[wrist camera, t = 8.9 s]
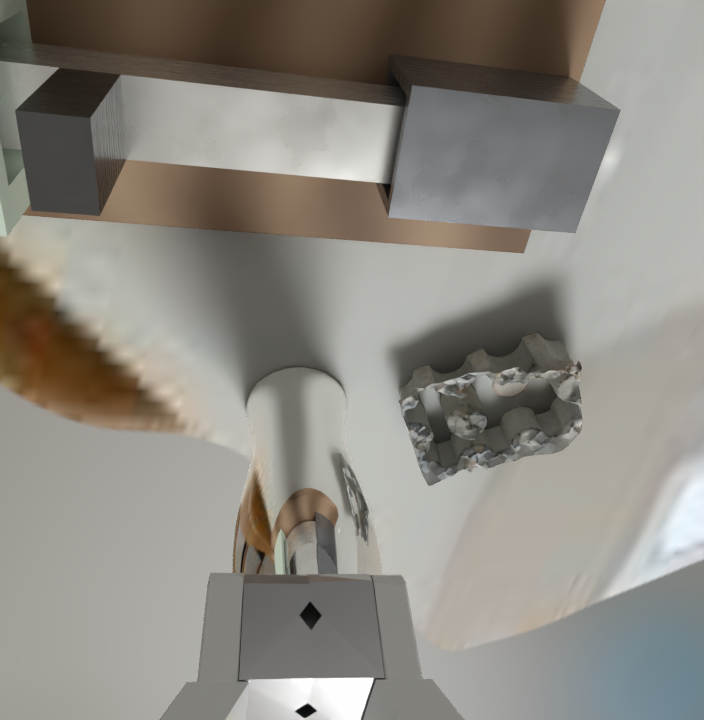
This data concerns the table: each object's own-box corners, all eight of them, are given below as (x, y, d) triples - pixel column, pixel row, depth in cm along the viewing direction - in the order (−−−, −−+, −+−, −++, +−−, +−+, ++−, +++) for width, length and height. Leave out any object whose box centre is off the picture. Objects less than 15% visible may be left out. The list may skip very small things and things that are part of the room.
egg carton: (563, 319, 38) (592, 360, 35) (567, 410, 43) (593, 454, 40) (389, 364, 39) (401, 409, 36) (411, 450, 43) (423, 496, 40)
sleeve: (570, 76, 28) (620, 110, 24) (535, 186, 31) (575, 233, 27) (389, 53, 27) (412, 85, 23) (371, 171, 30) (388, 217, 26)
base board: (594, -19, 27) (610, -14, 26) (514, 239, 34) (523, 253, 33) (-178, -139, 22) (-203, -140, 21) (-88, 191, 29) (-102, 205, 28)
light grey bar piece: (470, 93, 27) (534, 161, 21) (453, 165, 29) (507, 248, 22) (-81, 28, 24) (-208, 85, 17) (-61, 114, 25) (-170, 196, 19)
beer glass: (269, 343, 37) (272, 571, 25) (374, 383, 39) (423, 606, 27) (221, 427, 40) (203, 663, 28) (321, 458, 42) (343, 686, 31)
